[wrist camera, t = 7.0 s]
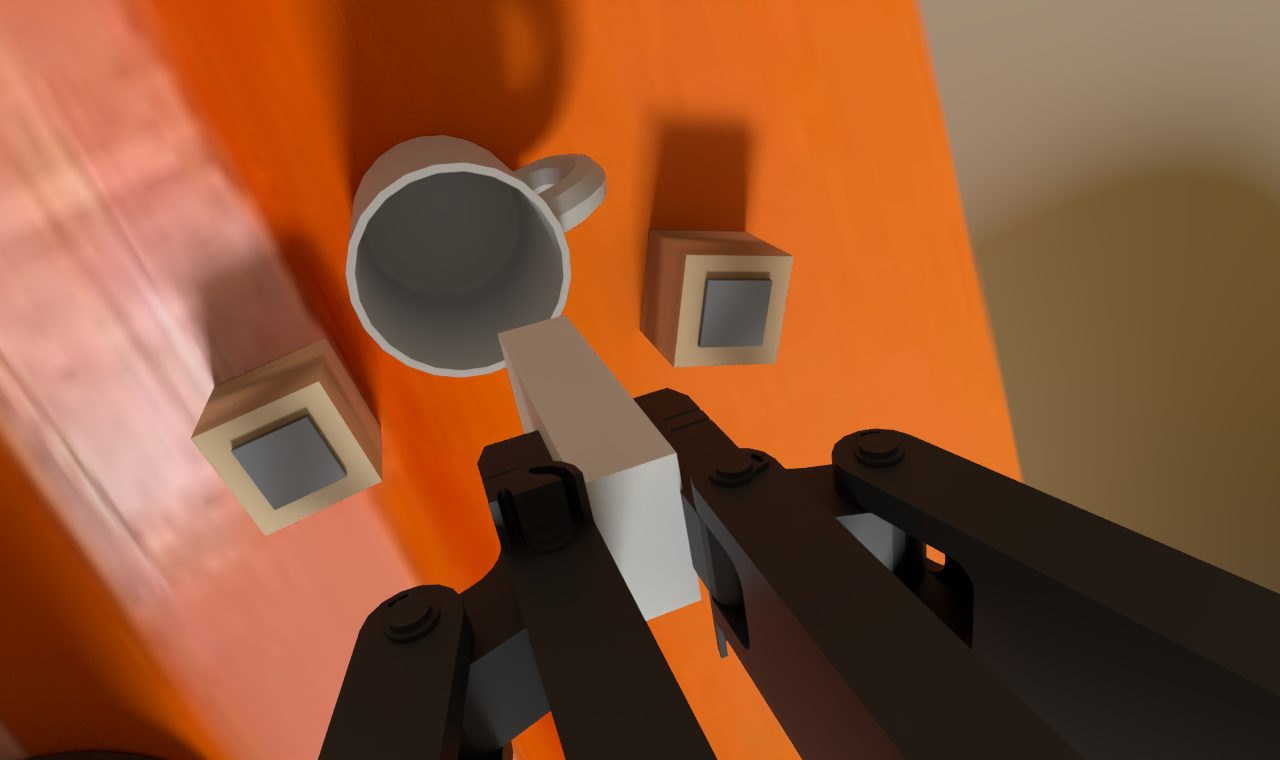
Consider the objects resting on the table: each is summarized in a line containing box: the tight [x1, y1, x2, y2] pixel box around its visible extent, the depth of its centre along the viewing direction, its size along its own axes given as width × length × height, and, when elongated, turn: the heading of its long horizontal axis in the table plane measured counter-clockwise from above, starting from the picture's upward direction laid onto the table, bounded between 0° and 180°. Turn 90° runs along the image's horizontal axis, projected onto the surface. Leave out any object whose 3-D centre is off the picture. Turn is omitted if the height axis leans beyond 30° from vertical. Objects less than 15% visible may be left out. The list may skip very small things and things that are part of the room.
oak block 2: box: [640, 229, 793, 367], centre depth 35 cm, size 5×5×5 cm
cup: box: [346, 135, 606, 377], centre depth 29 cm, size 7×10×9 cm
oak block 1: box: [191, 337, 382, 536], centre depth 32 cm, size 5×5×5 cm
